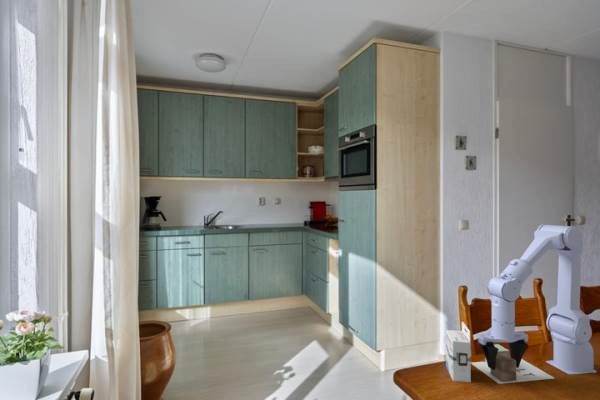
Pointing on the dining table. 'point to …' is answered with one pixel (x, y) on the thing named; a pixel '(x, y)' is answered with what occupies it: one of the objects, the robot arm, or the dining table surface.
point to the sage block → (500, 350)
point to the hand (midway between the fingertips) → (503, 367)
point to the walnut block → (504, 368)
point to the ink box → (459, 354)
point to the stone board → (522, 373)
